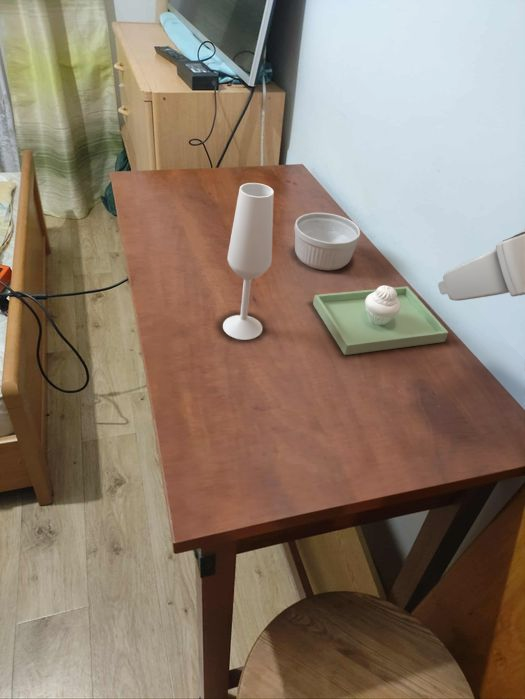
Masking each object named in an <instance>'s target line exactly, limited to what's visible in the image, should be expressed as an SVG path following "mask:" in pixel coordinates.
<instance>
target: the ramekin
mask: <svg viewBox="0 0 525 699" xmlns="http://www.w3.org/2000/svg"><path fill="white" fill-rule="evenodd" d="M293 230H294V250H295V251H294V252H295V255H296V256H297V258H298V260H299V261H300V262H301V263H303V264H304V265H306V266H307V267H309V268H312V269H315V270H320V271H336V270H340V269H342V268H344V267H345V266H346V265H348V264H349V263H350V261H351V260H352V257H353V255H354V252H355V249H356V246H357V244H358V243H359V241H360V238H361V228H360V227H359V226H358V225H357V224H356V223H355V222H354V221H352V220H351V219H349V218H347V217H344V216H341V215H338V214H334V213H328V212H310V213H305V214H303V215H301V216H299V217H297V218H296V221H295V223H294V229H293Z"/></svg>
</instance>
